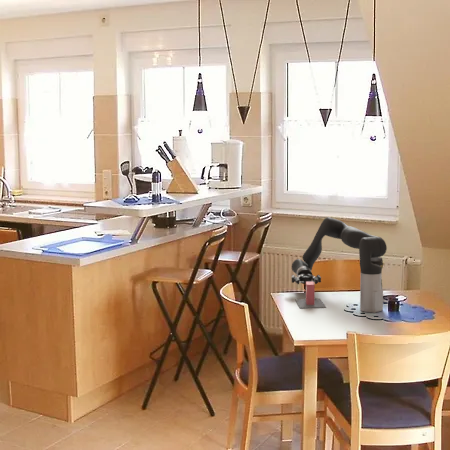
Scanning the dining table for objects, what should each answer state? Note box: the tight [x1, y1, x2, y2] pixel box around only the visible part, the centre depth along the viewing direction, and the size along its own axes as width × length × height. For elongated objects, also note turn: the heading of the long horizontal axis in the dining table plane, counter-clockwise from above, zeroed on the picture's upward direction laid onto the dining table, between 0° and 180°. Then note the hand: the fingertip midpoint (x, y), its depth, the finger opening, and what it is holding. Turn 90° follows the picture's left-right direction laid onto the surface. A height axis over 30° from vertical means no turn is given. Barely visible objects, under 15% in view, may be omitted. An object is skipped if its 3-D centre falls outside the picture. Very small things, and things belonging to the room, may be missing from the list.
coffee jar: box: [371, 256, 384, 290], centre depth 374 cm, size 10×8×19 cm
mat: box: [294, 298, 327, 309], centre depth 358 cm, size 16×12×1 cm
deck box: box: [305, 282, 315, 305], centre depth 357 cm, size 6×4×10 cm, turn 178°
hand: (307, 282), depth 367 cm, fingers open, 8 cm apart
